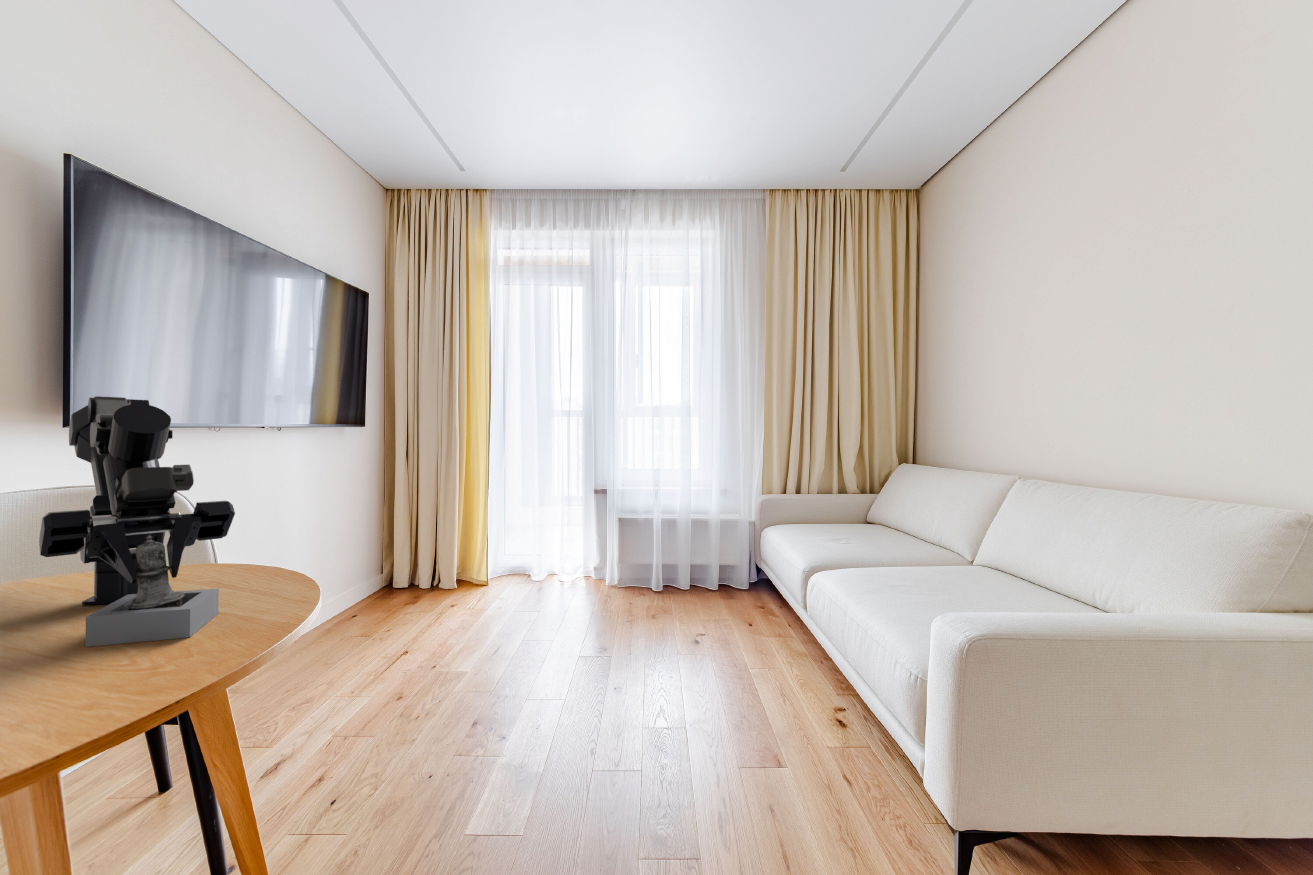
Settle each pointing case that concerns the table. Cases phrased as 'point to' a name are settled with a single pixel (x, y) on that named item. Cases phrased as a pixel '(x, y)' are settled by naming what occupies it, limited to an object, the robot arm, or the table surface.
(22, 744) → the table surface
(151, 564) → the salt shaker
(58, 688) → the table surface
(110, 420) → the robot arm
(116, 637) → the socket block
